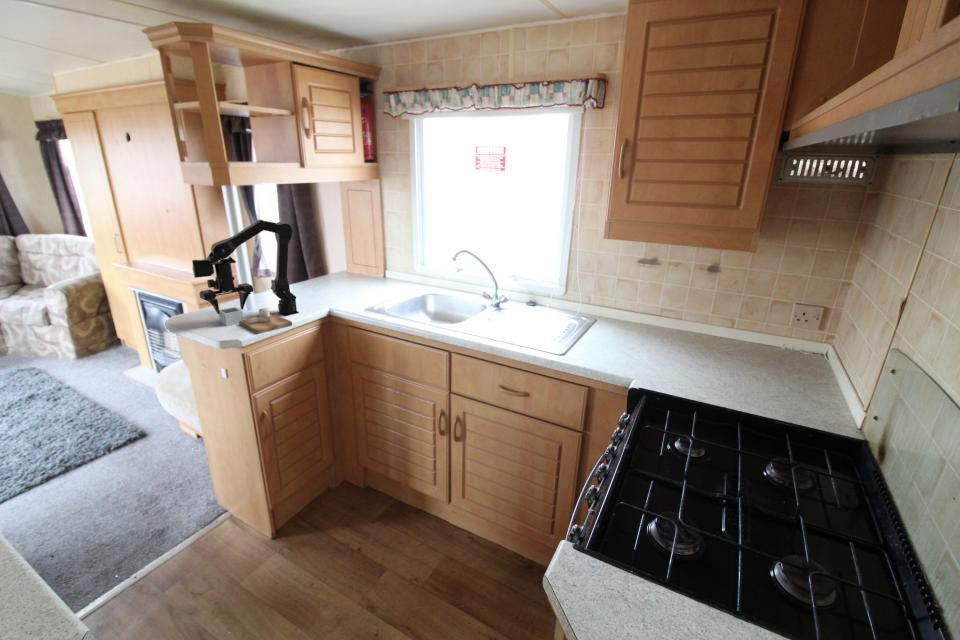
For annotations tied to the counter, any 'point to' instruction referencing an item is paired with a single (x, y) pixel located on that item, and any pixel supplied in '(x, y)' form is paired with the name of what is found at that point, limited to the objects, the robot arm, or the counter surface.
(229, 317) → the duct collar
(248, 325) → the board
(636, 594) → the counter surface
